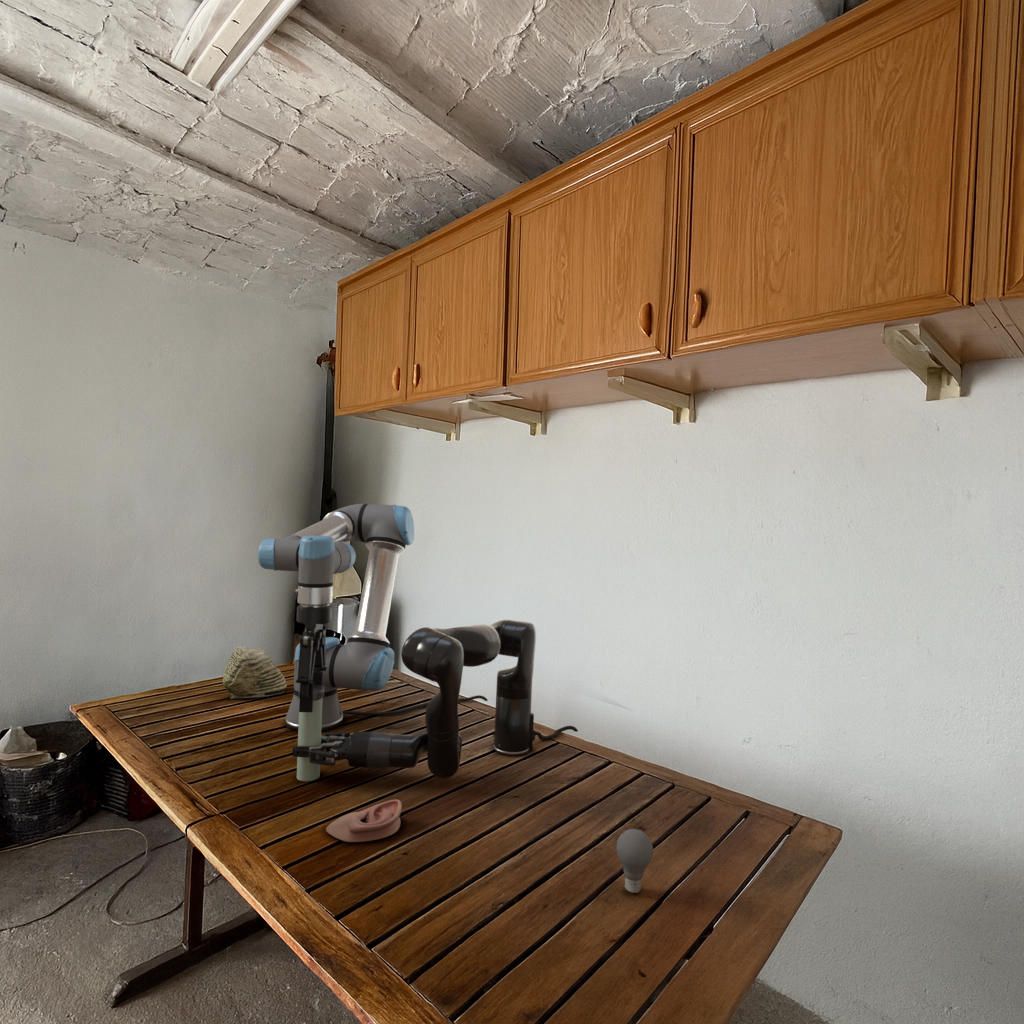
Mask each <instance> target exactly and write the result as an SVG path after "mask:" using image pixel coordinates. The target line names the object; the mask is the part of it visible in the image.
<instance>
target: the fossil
mask: <svg viewBox="0 0 1024 1024" xmlns="http://www.w3.org/2000/svg"><path fill="white" fill-rule="evenodd" d="M222 676H223V677H222V685H223V687H224V688H225V690H226V691H228V693H229V698H230V699H250V698H264V697H271V696H275V695H281V694H284V693H285V691H286V689H287V687H288V686H287V680H286V678H285V676H284V674H283V673H282V672H281V669H279V668H278V667H277V665H276V663H275V662H274V660H273V659H272V658H271V657H270V656H269V655H268V654H267V653H266V652H265V650H264V649H263V648H260V647H258V648H251V647H247V646H246V647H245V646H238V647H237V648H236V649H235V650H233V651H232V653H231V656H230V657H229V659H228V660H227V663H226V666H225V668H224V671H223V675H222Z"/></svg>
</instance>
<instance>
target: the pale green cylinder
mask: <svg viewBox="0 0 1024 1024" xmlns="http://www.w3.org/2000/svg"><path fill="white" fill-rule="evenodd" d="M322 701H323V698H321V699H318V700H313V711H312V712H299V728H298V731H297V746H310V747H312V746H320V745H321V735H322V731H321V728H322ZM299 703H300V701H299ZM319 751H321V750H319ZM309 760H310V759H309V757H296V779H297V780H298V781H300V782H312V781H316V780H317V779H319V778H320V775H321V764H315V763H310V762H309Z"/></svg>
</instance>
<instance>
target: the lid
mask: <svg viewBox="0 0 1024 1024" xmlns="http://www.w3.org/2000/svg"><path fill="white" fill-rule="evenodd" d="M323 697H324V687H323V686H321V685H314V688H313V700H318V699H321V698H323ZM298 698H299V699H300V688H299V690H298Z"/></svg>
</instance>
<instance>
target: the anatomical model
mask: <svg viewBox="0 0 1024 1024" xmlns="http://www.w3.org/2000/svg"><path fill="white" fill-rule="evenodd" d="M402 808H403V804H402V802H401V800H399V799H391V800H387V801H383V802H380V803H377V804H374V805H372V806H370V807H367V808H365V809H362V810H360V811H353V812H350V813H347V814H344V815H342V816H340V817H338V818H337V819H335V820H333V821H332V822H330V823H329V825H327V826H326V828H325V832H326V833H327V834H329V835H330V836H332V837H333V838H335V839H338V840H340V841H342V842H345V843H360V842H361V843H363V842H371V841H375V840H381V839H384V838H387V837H389V836H392V835H394V834H395V833H397V832H398V831H399V829H400V827H401V824H402V823H401V817H400V816H401V813H402Z"/></svg>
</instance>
